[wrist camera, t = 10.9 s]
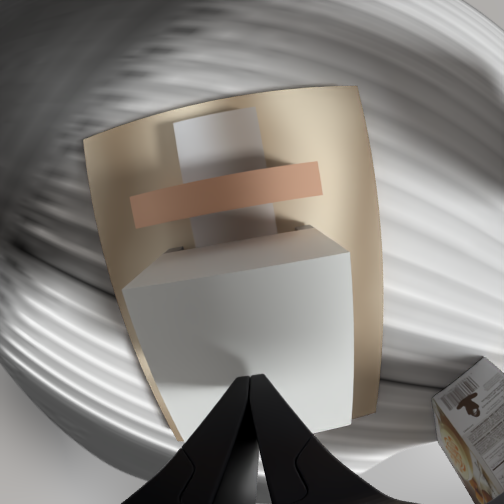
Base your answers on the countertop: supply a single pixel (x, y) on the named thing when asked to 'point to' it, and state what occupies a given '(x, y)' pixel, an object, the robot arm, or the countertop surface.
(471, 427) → the coffee box
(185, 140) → the rail board
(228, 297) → the block
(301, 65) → the countertop surface
